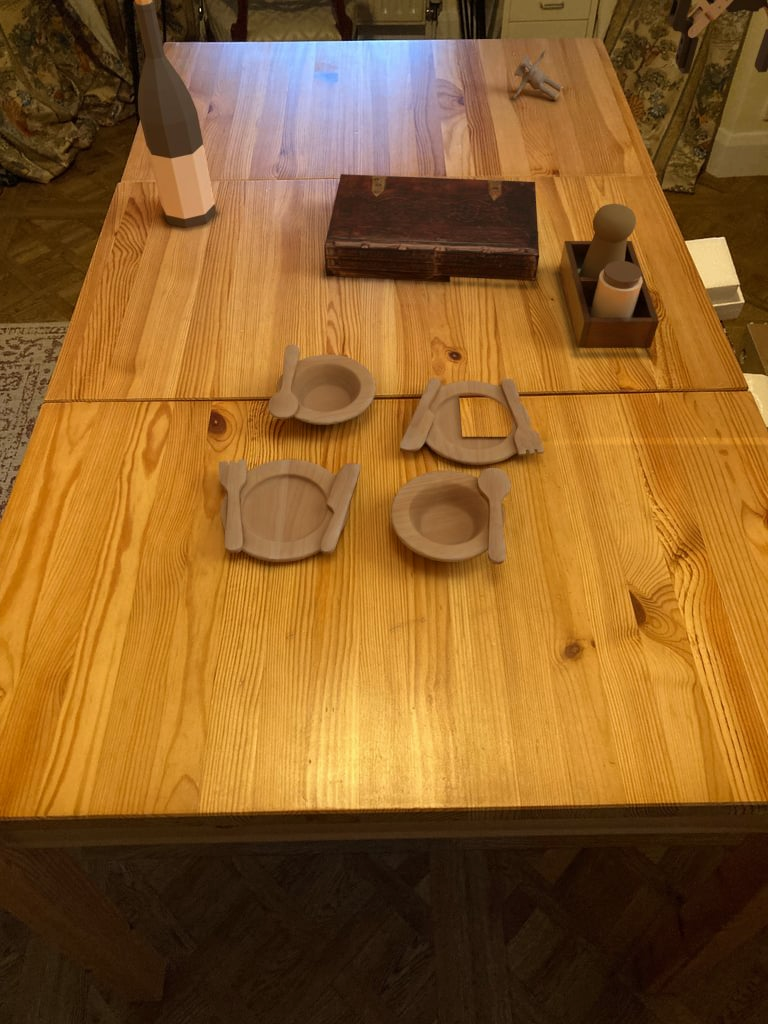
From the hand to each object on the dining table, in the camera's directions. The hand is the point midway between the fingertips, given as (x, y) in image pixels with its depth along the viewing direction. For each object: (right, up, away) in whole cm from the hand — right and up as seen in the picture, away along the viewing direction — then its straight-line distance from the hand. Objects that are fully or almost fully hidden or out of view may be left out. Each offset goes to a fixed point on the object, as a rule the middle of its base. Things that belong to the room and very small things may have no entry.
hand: (721, 70), depth 86 cm
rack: (-9, -23, +17) cm, 29 cm away
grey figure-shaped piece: (-9, +28, +57) cm, 65 cm away
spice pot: (-9, -25, +14) cm, 30 cm away
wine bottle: (-68, -4, +32) cm, 75 cm away
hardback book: (-31, -10, +27) cm, 42 cm away
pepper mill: (-9, -19, +19) cm, 28 cm away
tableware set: (-38, -45, 0) cm, 59 cm away
